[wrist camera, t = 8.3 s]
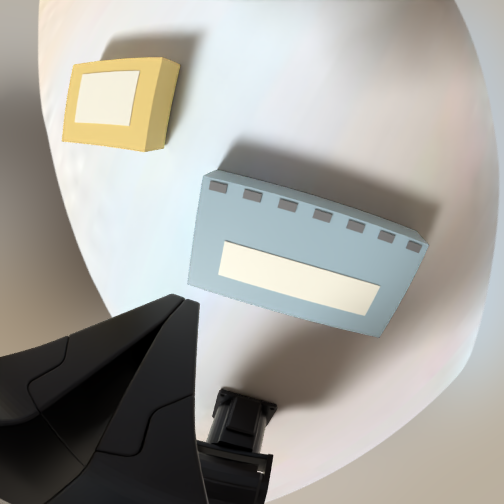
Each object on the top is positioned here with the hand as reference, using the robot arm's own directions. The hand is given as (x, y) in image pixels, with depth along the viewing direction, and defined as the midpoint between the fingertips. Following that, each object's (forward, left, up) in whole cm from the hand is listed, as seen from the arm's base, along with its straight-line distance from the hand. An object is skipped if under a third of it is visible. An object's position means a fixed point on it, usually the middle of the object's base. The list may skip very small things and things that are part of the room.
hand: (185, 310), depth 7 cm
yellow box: (+5, +11, -12) cm, 17 cm away
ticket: (-2, -4, -12) cm, 12 cm away
